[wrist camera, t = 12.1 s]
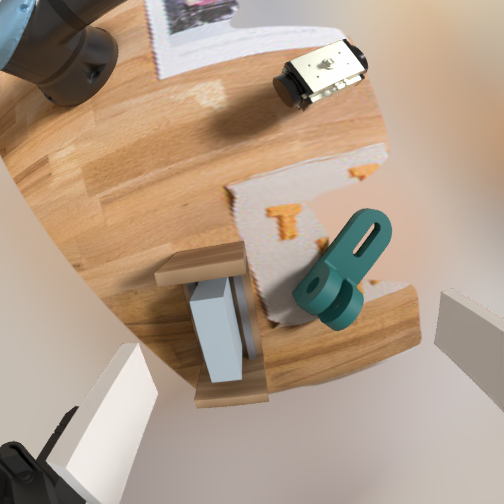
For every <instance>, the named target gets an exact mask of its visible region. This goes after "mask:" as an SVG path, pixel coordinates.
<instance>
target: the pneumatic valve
mask: <svg viewBox="0 0 504 504" xmlns="http://www.w3.org/2000/svg"><path fill="white" fill-rule="evenodd" d="M367 69H368V63H367V60H366V58H365V56H364V54H363V53H362V52H361V51H360V50H359V49H358V48H357V47H355V46H353V45H350V43H349V42H348V41H347V40H346V39H343V40H340V41H337V42H335V43H332V44H329V45H327V46H324V47H322V48H319V49H317V50H314V51H312V52H309V53H307V54H305V55H302V56H300V57H298V58H295V59H293V60H291V61H289V62H287V63H285V65H284V68H283V69H282V70H283V71H282V74H280V75H278V76H276V77H274V78H273V85H274V87H275V90H276V92H277V93H278V95H279V97H280V98H281V99H282V101H283V102H284V103H285V104H286V105H287V106H288V107H290V108H294V107H297V108H298V109H299V110H300V109H302V110H303V111H306V110H308V109H310V108H312V107H313V106H315V105H317V104H319V103H321V102H323V101H325V100H327V99H329V98H331V97H333V96H335V95H337V94H339V93H341V92H343V91H346V90H348V89H350V88H352V87H354V86H356V85H358V84H359V83H360V82H361V81H362V80H363V79H364V78H365V77H364V75H363V74H364V73H366V72H367Z"/></svg>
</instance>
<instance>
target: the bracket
mask: <svg viewBox="0 0 504 504" xmlns="http://www.w3.org/2000/svg"><path fill="white" fill-rule="evenodd" d="M373 223H374V229H373V230H372V232H371V233H370V235H369V236H368V237H367V239H366V240H365V241H364V243H363V244H362V245H361V247H360V248H359V249H358V251H357V252H356V253H355V254H353V250H354V248H355V247H356V245H357V244H358V243H359V242H360V240H361V239H362V238H363V236H364V235H365V234H366V232H367V231H368V229H369V228H370V227H371V225H372V224H373ZM391 235H392V227H391V223H390V221H389V219H388V217H387V216H386V215H385V214H384V213H383V212H381V211H379V210H374V209H368V208H366V209H361V210H359V211H357V212H356V213H354V214H353V215H352V217H351V218H350V219H349V221H348V222H347V223H346V225H345V226H344V227H343V229H342V230H341V231H340V233H339V234H338V235H337V237H336V238H335V239H334V241H333V242H332V243H331V244H330V246H329V248H328V249H327V250H326V252H325V253H324V254H323V255H322V257H321V258H320V259H319V260H318V262H317V263H316V264H315V266H314V267H313V268H312V269H311V271H310V272H309V273H308V274H307V276H306V277H305V278H304V279H303V280H302V282H301V283H300V284H299V285H298V287H297V288H296V289H295V290H294V291H293V293H292V294H293V296H294V298H295V300H296V303H297V305H298V306H300V307H301V308H302V309H304V310H305V311H307V312H308V313H310V314H311V315H318V317H319V319H320V320H321V322H323V323H324V324H325V325H327V326H328V327H330V328H331V329H333V330H335V331H340V330H343V329H345V328H346V327H348V326H349V325H350V324H351V323H352V322H353V321H354V320H355V319H356V318H357V316H358V315H359V313H360V311H361V309H362V306H363V301H364V298H363V294H362V293H361V292H360V291H359V290H358V289H357V288H356V287H357V285H358V284H359V283H360V281H361V280H362V279H363V277H364V276H365V275H366V274H367V272H368V271H369V270H370V268H371V267H372V266H373V264H374V263H375V262H376V260H377V259H378V258H379V256H380V255H381V254H382V252H383V251H384V250H385V248H386V247H387V245H388V244H389V242H390V239H391Z"/></svg>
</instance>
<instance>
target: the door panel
mask: <svg viewBox="0 0 504 504" xmlns="http://www.w3.org/2000/svg"><path fill="white" fill-rule="evenodd" d="M190 306H191V310H192V314H193V317H194V321H195V325H196V329H197V333H198V336H199V340H200V343H201V347H202V351H203V354H204V357H205V361H206V364H207V368H208V371H209V374H210V378H211V381H212V383H213V382H223V381H233V380H241V379H242V342H241V337H240V332H239V327H238V322H237V317H236V312H235V307H234V302H233V297H232V292H231V287H230V282H229V277H224V278H218V279H211V280H204V281H199V283H198V285H197V287H196V289H195V291H194V293H193V295H192V297H191V300H190Z"/></svg>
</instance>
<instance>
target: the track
mask: <svg viewBox="0 0 504 504" xmlns="http://www.w3.org/2000/svg"><path fill="white" fill-rule="evenodd" d="M154 275H155V279H156V283H157V287H163V286H170V285H177V284H182V286H183V290H184V294H185V298H186V302H187V306H188V310H189V314H190V317H191V321H192V325H193V329H194V332H195V336H196V339H197V343H198V347H199V350H200V353H201V357H202V360H203V362H202V367H201V371H200V376H199V380H198V385H197V389H196V394H195V398H194V402H195V404H196V407H197V408H212V407H225V406H236V405H245V404H253V403H261V402H268V401H269V398H268V389H267V380H266V371H265V362H264V355H263V349H262V344H261V338H260V332H259V326H258V320H257V315H256V309H255V303H254V297H253V291H252V285H251V279H250V274H249V268H248V262H247V256H246V250H245V244H244V241H240V242H234V243H228V244H222V245H216V246H210V247H204V248H198V249H192V250H186V251H180V252H176V253H175V254H174V255H173V256H172V257H171V258H170V259H169V260H168V261H167V262H166V263H165V264H164V265H163V266H162V267H161V268H160V269H159V270H157V271H156V272H155V273H154ZM224 277H229V282H230V287H231V292H232V297H233V302H234V307H235V312H236V317H237V322H238V327H239V332H240V337H241V342H242V379H241V380H233V381H223V382H213V383H212V381H211V378H210V374H209V371H208V368H207V364H206V361H205V357H204V354H203V351H202V347H201V343H200V340H199V336H198V333H197V329H196V325H195V321H194V317H193V314H192V310H191V306H190V300H191V297H192V295H193V293H194V291H195V289H196V287H197V285H198V283H199V281H204V280H211V279H218V278H224Z"/></svg>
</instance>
